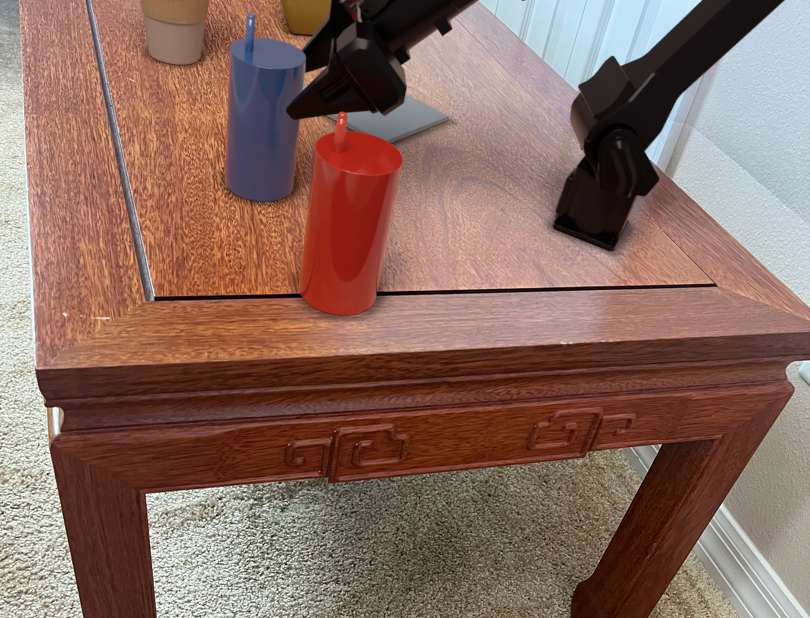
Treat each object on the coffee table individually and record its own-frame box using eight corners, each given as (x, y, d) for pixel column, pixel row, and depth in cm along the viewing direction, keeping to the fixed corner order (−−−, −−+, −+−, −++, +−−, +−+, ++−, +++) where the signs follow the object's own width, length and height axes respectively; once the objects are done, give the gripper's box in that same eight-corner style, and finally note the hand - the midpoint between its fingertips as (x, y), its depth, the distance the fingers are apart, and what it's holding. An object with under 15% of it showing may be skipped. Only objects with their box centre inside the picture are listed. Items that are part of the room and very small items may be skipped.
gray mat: (447, 120, 95) (448, 115, 95) (382, 146, 87) (382, 141, 87) (358, 74, 101) (358, 69, 100) (288, 94, 93) (289, 89, 92)
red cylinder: (366, 268, 70) (398, 96, 60) (384, 314, 66) (420, 137, 56) (292, 267, 68) (312, 90, 58) (305, 316, 64) (328, 133, 54)
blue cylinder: (294, 171, 80) (310, 9, 70) (291, 205, 76) (309, 37, 65) (228, 162, 79) (234, -3, 69) (221, 196, 75) (227, 24, 64)
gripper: (379, -139, 68) (237, -23, 74) (389, -78, 55) (215, 58, 60) (449, -23, 75) (315, 76, 80) (475, 57, 61) (311, 169, 67)
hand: (291, 91), depth 72 cm, fingers open, 9 cm apart
